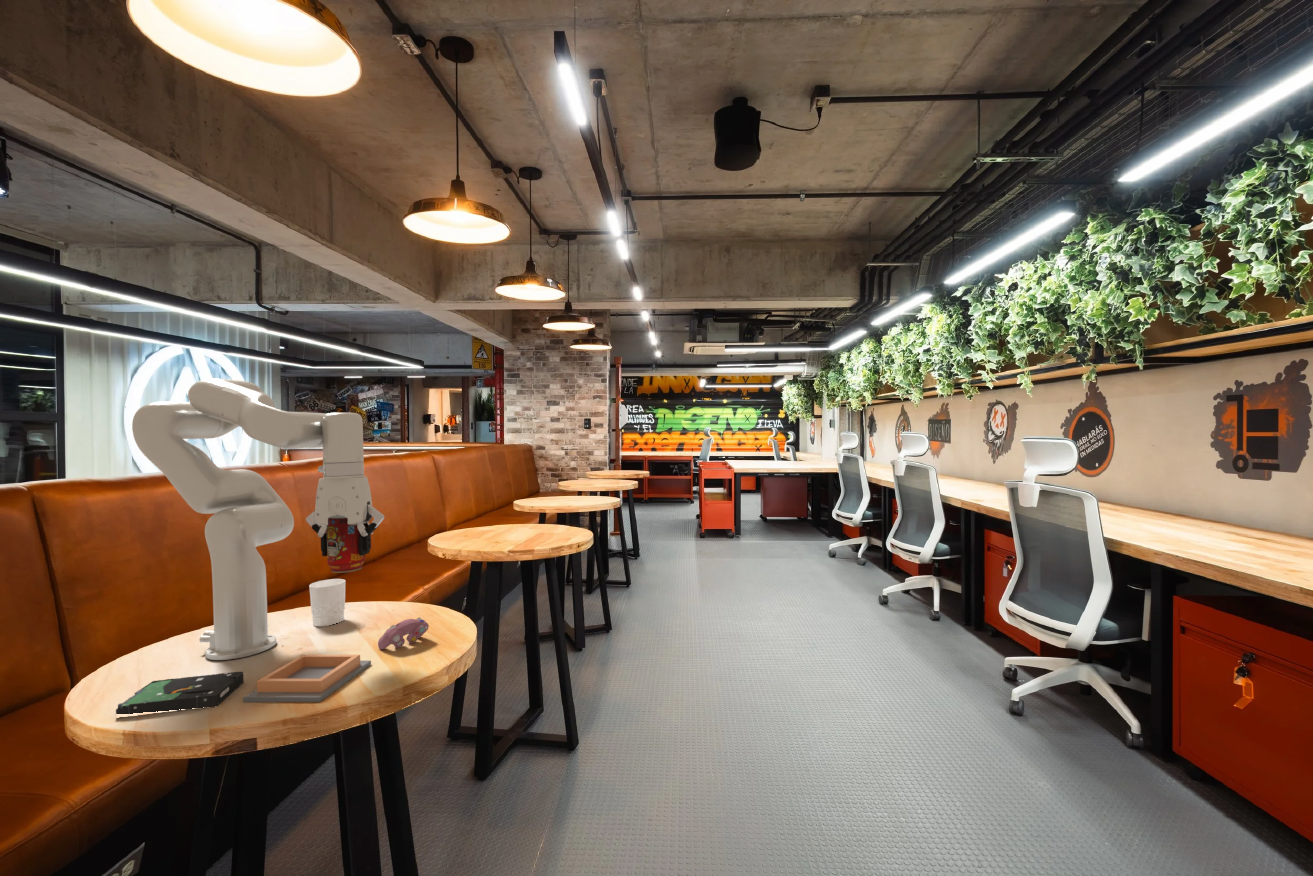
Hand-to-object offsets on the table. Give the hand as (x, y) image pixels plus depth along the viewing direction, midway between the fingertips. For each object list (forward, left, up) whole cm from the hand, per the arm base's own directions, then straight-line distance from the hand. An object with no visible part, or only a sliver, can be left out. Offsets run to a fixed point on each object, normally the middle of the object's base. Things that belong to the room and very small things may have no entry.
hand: (346, 554), depth 119 cm
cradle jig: (0, -13, -22) cm, 25 cm away
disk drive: (-18, -20, -22) cm, 35 cm away
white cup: (-19, +21, -22) cm, 36 cm away
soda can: (0, 0, -3) cm, 3 cm away
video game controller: (+9, +6, -22) cm, 25 cm away
